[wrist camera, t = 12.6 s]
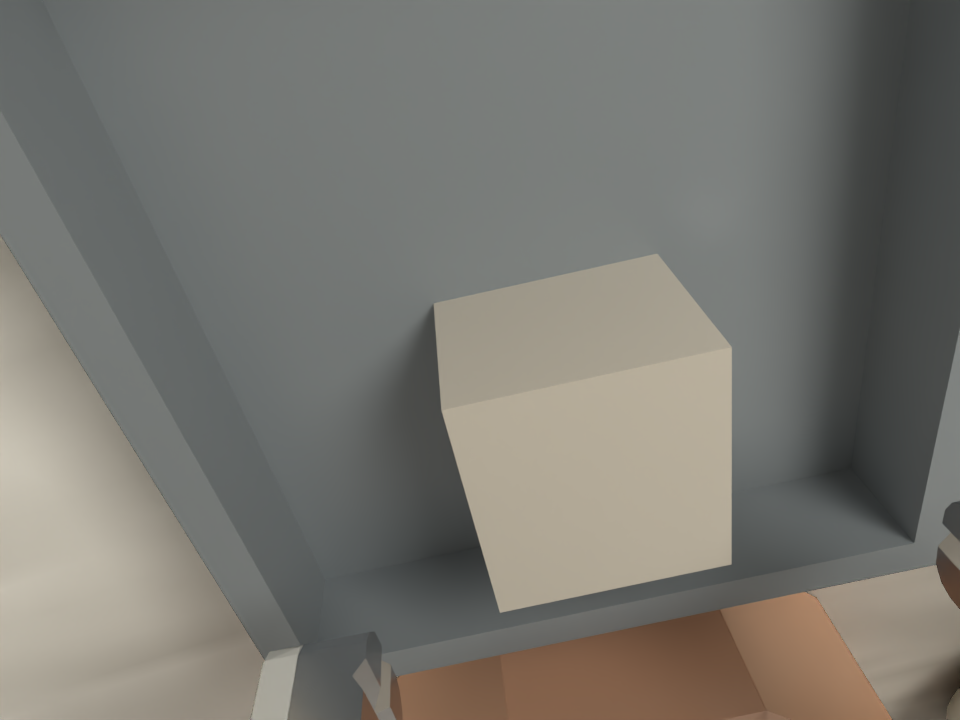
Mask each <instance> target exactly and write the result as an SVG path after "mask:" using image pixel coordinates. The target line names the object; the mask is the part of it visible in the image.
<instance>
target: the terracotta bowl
mask: <svg viewBox="0 0 960 720" xmlns="http://www.w3.org/2000/svg"><path fill="white" fill-rule="evenodd" d="M397 682H398V685H399V689H400V696H401V704H402V720H892V718H891V717H890V715H889V713H888V712H887V710H886V709H885V707H884V705H883V704H882V702H881V701H880V699H879V697H878V696H877V694H876V693H875V691H874V689H873V688H872V686H871V684H870V683H869V681H868V680H867V678H866V676H865V675H864V673H863V672H862V670H861V668H860V667H859V665H858V664H857V662H856V660H855V659H854V657H853V656H852V654H851V652H850V651H849V649H848V647H847V646H846V644H845V643H844V641H843V639H842V638H841V636H840V635H839V633H838V631H837V630H836V628H835V627H834V625H833V623H832V622H831V620H830V619H829V617H828V615H827V614H826V612H825V611H824V609H823V607H822V606H821V604H820V602H819V601H818V599H817V598H816V597H814V596H812V595H810V594H808V593H806V592H802V593H797V594H792V595H787V596H782V597H778V598H773V599H768V600H763V601H758V602H753V603H749V604H744V605H739V606H734V607H729V608H725V609H720V610H715V611H710V612H705V613H700V614H696V615H691V616H686V617H681V618H676V619H671V620H667V621H662V622H657V623H652V624H647V625H643V626H638V627H633V628H628V629H623V630H618V631H614V632H609V633H604V634H599V635H594V636H589V637H585V638H580V639H575V640H570V641H565V642H560V643H556V644H551V645H546V646H541V647H536V648H532V649H527V650H522V651H517V652H512V653H507V654H503V655H498V656H493V657H488V658H483V659H478V660H474V661H469V662H464V663H459V664H454V665H450V666H445V667H440V668H435V669H430V670H425V671H421V672H416V673H411V674H406V675H401V676H399V677H398V678H397Z"/></svg>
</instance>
